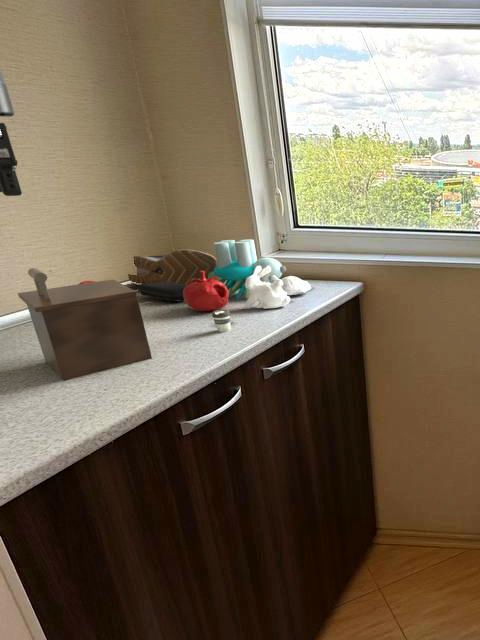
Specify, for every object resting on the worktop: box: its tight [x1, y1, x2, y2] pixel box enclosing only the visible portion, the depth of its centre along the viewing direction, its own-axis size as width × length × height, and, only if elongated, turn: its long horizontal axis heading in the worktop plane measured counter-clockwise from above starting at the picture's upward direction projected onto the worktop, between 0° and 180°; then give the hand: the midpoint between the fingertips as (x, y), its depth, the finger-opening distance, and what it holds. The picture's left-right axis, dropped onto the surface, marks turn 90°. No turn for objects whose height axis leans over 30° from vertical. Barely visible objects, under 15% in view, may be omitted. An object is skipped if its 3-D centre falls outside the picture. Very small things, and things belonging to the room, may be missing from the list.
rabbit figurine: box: [238, 266, 291, 310], centre depth 127 cm, size 12×8×10 cm, turn 90°
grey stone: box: [280, 275, 312, 296], centre depth 138 cm, size 9×8×5 cm
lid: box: [17, 267, 138, 312], centre depth 89 cm, size 14×13×5 cm
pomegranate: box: [183, 271, 229, 312], centre depth 125 cm, size 10×10×9 cm
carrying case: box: [136, 282, 187, 302], centre depth 136 cm, size 11×3×15 cm
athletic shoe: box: [127, 248, 218, 285], centre depth 149 cm, size 11×28×12 cm
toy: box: [208, 238, 287, 301], centre depth 137 cm, size 12×22×15 cm, turn 95°
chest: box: [26, 295, 153, 382], centre depth 93 cm, size 14×13×13 cm
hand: (7, 193), depth 83 cm, fingers open, 8 cm apart
